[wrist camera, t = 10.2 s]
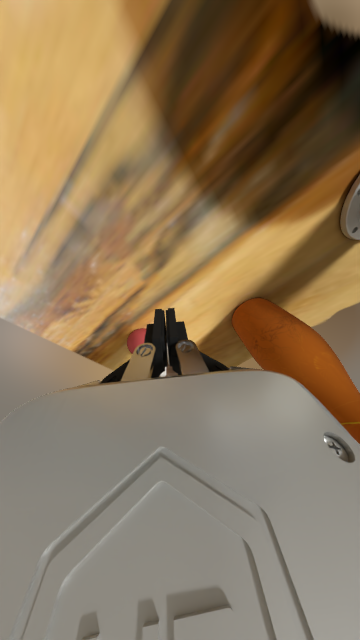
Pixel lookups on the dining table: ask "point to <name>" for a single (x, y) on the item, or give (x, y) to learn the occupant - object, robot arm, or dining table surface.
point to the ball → (136, 339)
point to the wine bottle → (298, 357)
